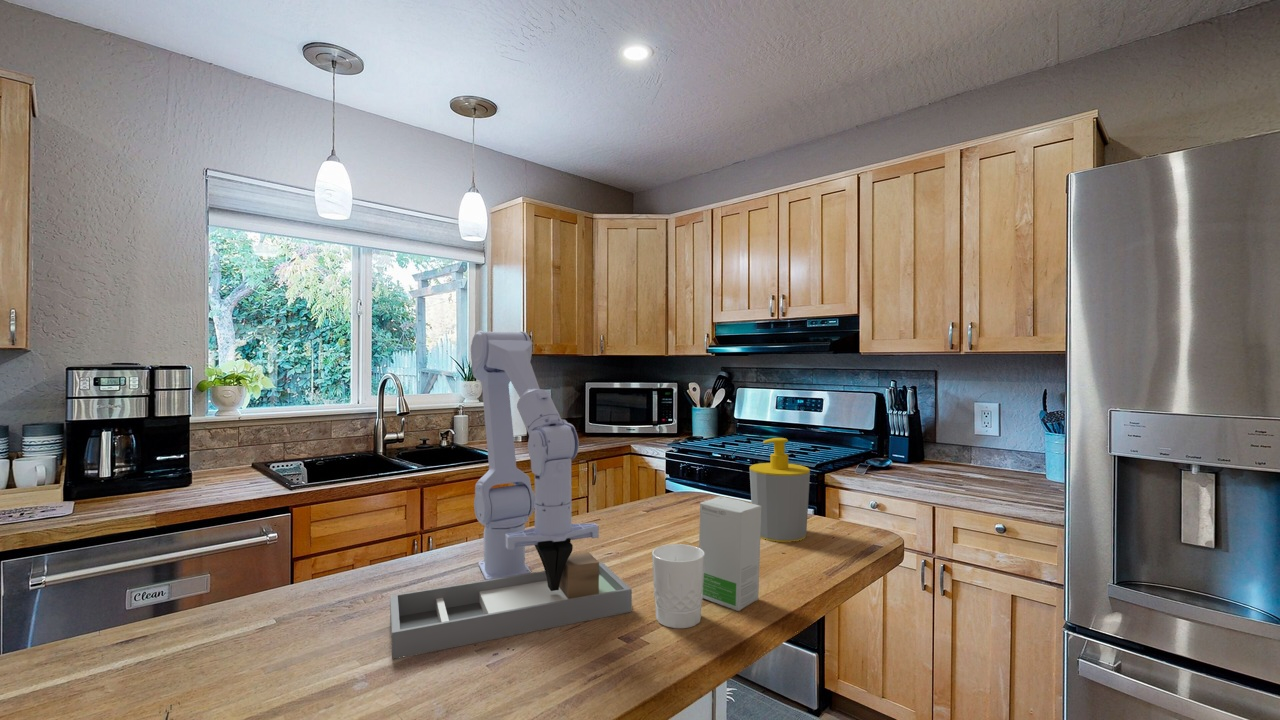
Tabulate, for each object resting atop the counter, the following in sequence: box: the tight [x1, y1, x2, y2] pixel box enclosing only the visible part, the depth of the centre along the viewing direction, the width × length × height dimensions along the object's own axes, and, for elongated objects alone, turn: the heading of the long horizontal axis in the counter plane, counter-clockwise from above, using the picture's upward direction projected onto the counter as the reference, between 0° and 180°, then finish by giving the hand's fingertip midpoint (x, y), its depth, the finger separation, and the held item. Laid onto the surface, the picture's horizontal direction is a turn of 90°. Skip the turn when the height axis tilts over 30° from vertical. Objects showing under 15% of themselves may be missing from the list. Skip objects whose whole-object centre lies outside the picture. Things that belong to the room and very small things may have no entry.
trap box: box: [389, 561, 633, 660], centre depth 88 cm, size 13×34×4 cm, turn 114°
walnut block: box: [559, 552, 600, 599], centre depth 92 cm, size 5×5×5 cm
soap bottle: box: [749, 437, 811, 543], centre depth 128 cm, size 13×13×21 cm
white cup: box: [651, 543, 705, 629], centre depth 87 cm, size 8×8×10 cm
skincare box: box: [698, 496, 761, 612], centre depth 94 cm, size 8×7×16 cm
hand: (553, 588), depth 91 cm, fingers closed
